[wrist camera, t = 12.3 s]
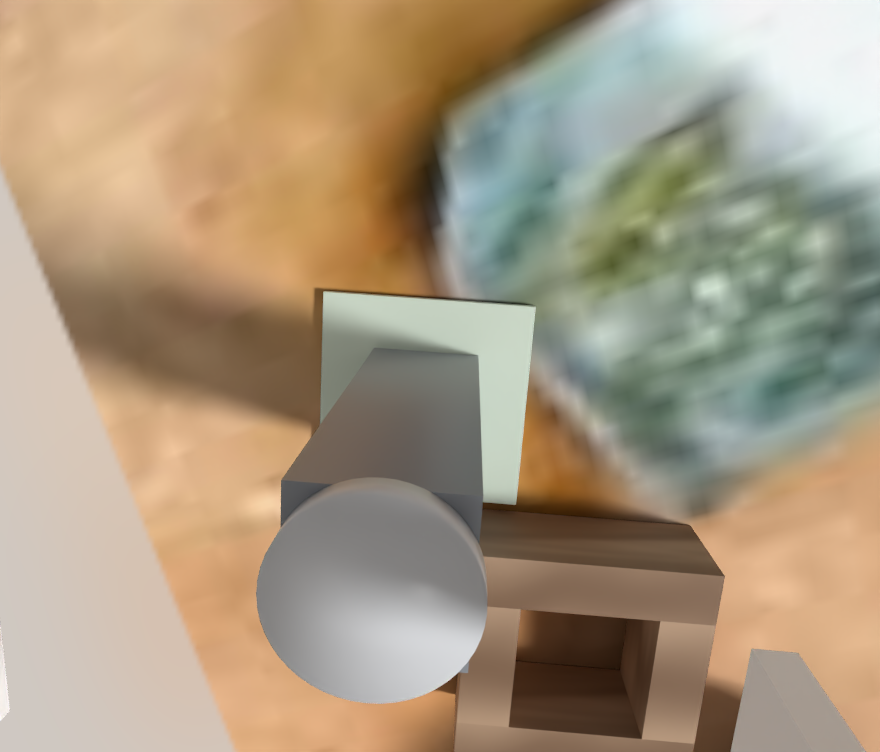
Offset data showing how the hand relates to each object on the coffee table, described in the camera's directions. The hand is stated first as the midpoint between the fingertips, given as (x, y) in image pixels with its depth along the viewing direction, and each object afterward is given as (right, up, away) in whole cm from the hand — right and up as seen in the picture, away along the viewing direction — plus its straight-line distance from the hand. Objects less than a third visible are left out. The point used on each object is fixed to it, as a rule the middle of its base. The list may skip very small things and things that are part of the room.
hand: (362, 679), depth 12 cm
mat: (+1, +4, +19) cm, 19 cm away
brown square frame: (+7, -6, +21) cm, 23 cm away
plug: (+1, +4, +18) cm, 19 cm away
